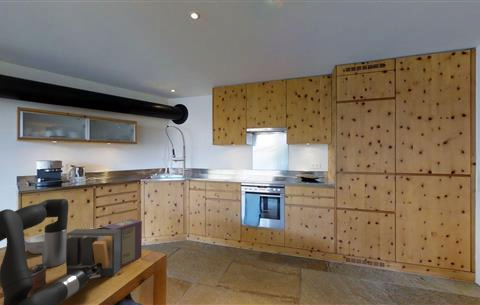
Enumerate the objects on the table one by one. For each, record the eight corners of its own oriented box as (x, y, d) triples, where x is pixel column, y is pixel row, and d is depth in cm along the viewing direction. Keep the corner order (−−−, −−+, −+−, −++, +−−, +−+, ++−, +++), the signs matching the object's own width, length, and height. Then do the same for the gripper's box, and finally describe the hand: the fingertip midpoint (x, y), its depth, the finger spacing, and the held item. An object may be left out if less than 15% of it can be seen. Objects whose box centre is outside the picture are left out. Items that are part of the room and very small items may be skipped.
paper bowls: (18, 253, 135) (18, 239, 135) (48, 244, 149) (49, 231, 150) (34, 258, 130) (34, 243, 130) (64, 248, 144) (64, 234, 144)
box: (113, 270, 117) (113, 229, 117) (101, 266, 121) (102, 226, 121) (141, 257, 132) (141, 221, 132) (130, 253, 136) (130, 218, 136)
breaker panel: (62, 278, 108) (63, 234, 109) (75, 269, 117) (75, 229, 117) (111, 279, 109) (111, 235, 109) (120, 270, 117) (120, 229, 117)
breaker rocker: (95, 267, 108) (92, 243, 105) (99, 263, 110) (95, 240, 108) (106, 267, 108) (103, 244, 105) (110, 263, 110) (107, 240, 108)
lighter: (40, 283, 105) (40, 260, 105) (48, 283, 105) (48, 260, 105) (25, 294, 97) (25, 269, 97) (34, 293, 97) (34, 269, 97)
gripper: (85, 276, 89) (114, 257, 107) (53, 274, 91) (87, 256, 108) (85, 296, 89) (114, 274, 106) (52, 294, 90) (86, 272, 108)
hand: (100, 265), depth 107 cm, fingers closed
